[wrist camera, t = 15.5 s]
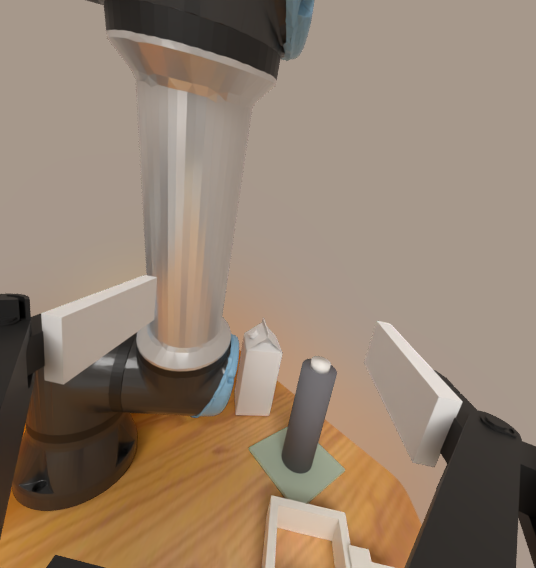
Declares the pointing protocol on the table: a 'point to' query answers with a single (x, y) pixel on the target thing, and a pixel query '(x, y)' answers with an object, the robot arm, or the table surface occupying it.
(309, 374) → the grey thermos flask
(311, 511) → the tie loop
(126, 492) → the table surface
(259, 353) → the milk carton
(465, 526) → the robot arm
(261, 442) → the felt mat
